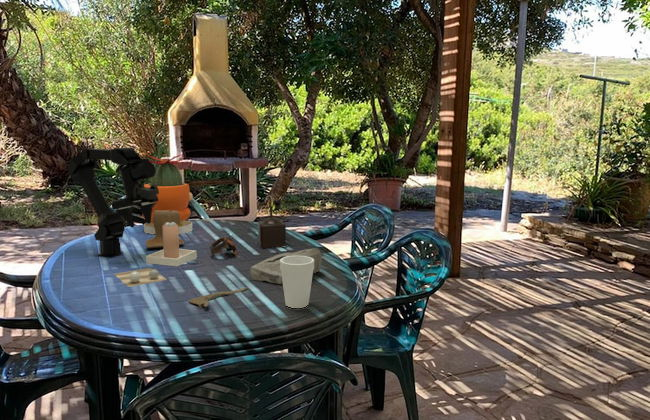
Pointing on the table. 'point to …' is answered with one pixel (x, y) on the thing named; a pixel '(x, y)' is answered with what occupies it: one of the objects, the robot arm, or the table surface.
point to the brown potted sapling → (272, 229)
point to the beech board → (143, 279)
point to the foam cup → (297, 280)
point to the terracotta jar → (171, 240)
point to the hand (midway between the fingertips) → (141, 225)
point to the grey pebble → (153, 274)
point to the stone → (271, 266)
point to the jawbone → (212, 297)
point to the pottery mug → (223, 246)
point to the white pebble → (134, 276)
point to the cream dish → (161, 260)
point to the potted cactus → (170, 194)
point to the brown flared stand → (159, 221)
